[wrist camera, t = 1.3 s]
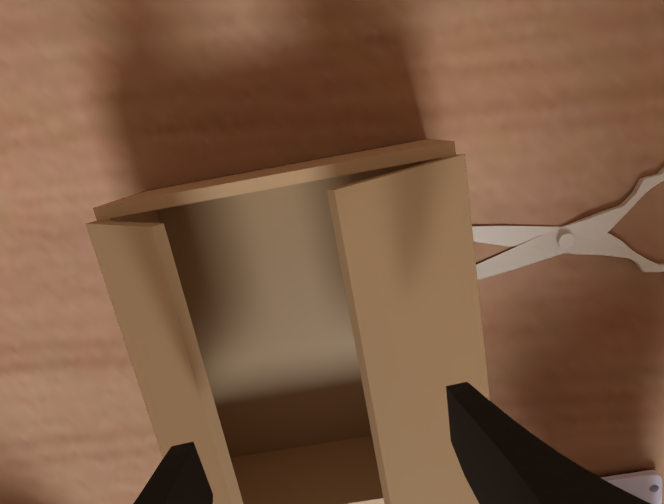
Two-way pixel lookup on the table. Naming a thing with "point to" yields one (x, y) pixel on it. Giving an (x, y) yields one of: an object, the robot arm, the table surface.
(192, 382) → the flap
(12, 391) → the table surface
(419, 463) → the flap
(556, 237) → the scissors
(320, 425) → the carton
